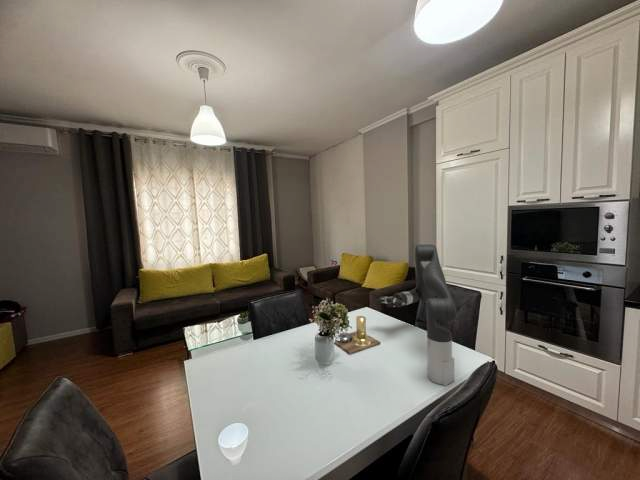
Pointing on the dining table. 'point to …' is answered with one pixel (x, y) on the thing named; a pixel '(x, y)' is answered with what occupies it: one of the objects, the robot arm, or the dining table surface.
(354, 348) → the gear board
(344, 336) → the gear
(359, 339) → the cylinder
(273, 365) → the dining table surface
